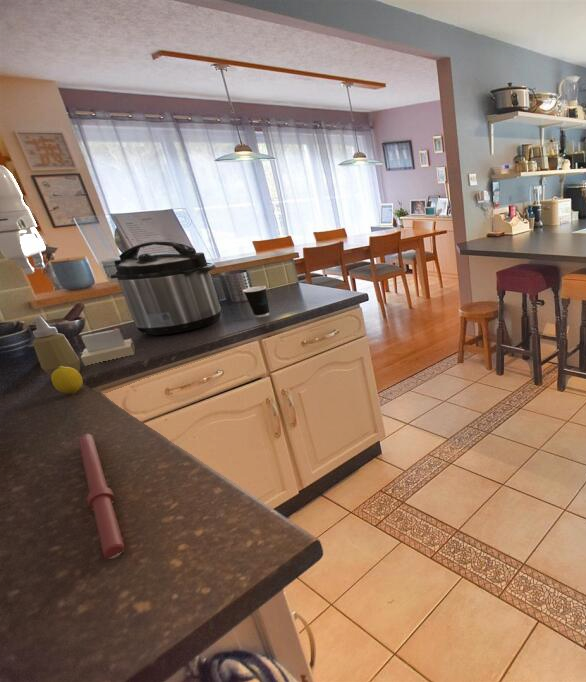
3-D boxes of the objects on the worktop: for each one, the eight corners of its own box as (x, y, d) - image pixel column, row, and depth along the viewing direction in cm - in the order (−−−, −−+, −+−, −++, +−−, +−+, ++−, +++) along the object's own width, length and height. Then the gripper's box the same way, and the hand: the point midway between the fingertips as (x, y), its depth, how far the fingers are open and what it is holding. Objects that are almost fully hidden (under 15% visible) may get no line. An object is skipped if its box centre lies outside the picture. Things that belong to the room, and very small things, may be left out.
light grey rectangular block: (88, 352, 137) (80, 336, 135) (89, 350, 138) (82, 334, 136) (124, 344, 141) (117, 329, 139) (125, 342, 143) (119, 327, 141)
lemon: (74, 389, 118) (60, 362, 116) (93, 388, 118) (80, 361, 115) (53, 399, 113) (39, 371, 110) (73, 398, 113) (59, 370, 110)
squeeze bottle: (48, 383, 123) (17, 324, 116) (47, 376, 128) (17, 318, 122) (86, 373, 128) (58, 315, 122) (83, 366, 134) (56, 311, 127)
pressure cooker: (244, 315, 174) (219, 235, 162) (169, 341, 150) (133, 249, 138) (198, 310, 186) (172, 235, 174) (121, 333, 162) (84, 248, 150)
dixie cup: (270, 317, 169) (262, 289, 165) (248, 320, 168) (239, 292, 164) (275, 311, 177) (268, 285, 173) (254, 314, 175) (246, 287, 171)
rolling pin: (132, 553, 63) (124, 537, 62) (104, 567, 61) (94, 551, 60) (98, 441, 92) (92, 429, 91) (78, 448, 90) (72, 435, 89)
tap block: (81, 368, 132) (77, 359, 131) (86, 356, 142) (82, 347, 141) (136, 355, 140) (132, 346, 138) (137, 344, 149) (133, 336, 148)
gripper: (10, 221, 129) (33, 267, 134) (-19, 226, 113) (7, 278, 118) (39, 219, 132) (60, 264, 137) (14, 223, 116) (39, 274, 121)
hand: (36, 271), depth 128 cm, fingers open, 8 cm apart
